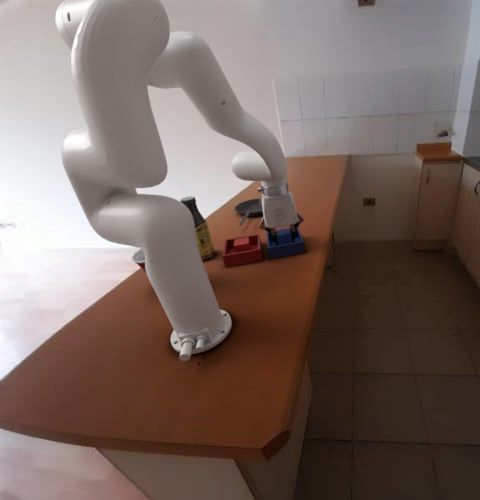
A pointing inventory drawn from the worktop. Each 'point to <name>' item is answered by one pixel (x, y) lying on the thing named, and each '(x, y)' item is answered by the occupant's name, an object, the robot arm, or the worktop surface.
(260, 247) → the red bin
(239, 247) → the red block
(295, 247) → the blue bin
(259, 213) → the frying pan
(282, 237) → the blue block
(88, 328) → the worktop surface
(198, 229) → the sauce bottle
